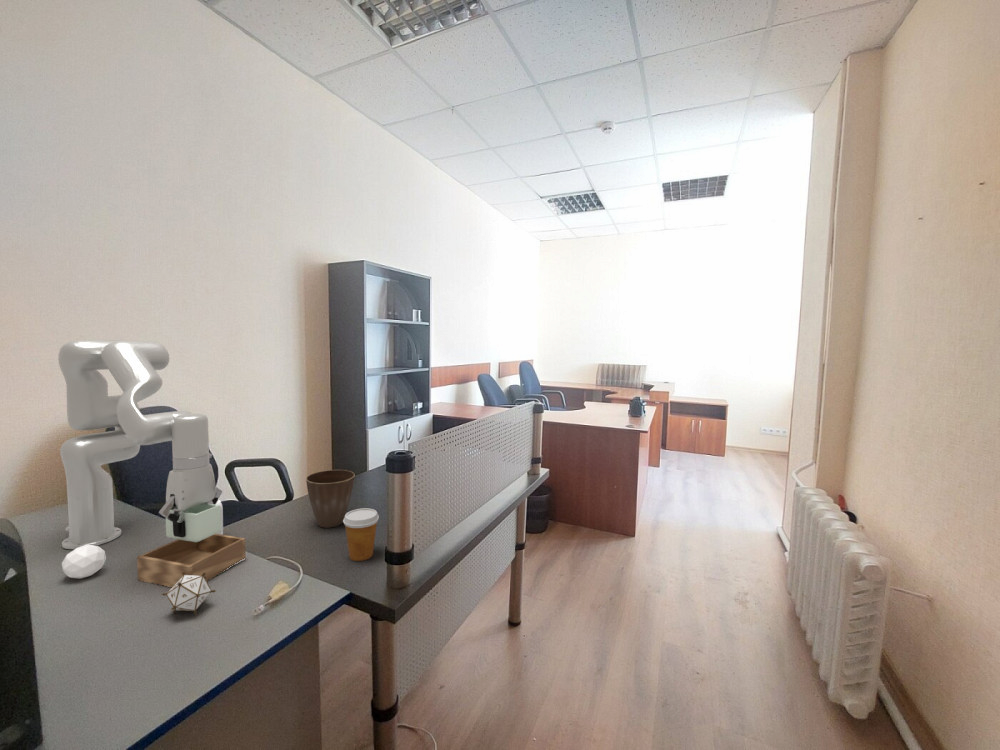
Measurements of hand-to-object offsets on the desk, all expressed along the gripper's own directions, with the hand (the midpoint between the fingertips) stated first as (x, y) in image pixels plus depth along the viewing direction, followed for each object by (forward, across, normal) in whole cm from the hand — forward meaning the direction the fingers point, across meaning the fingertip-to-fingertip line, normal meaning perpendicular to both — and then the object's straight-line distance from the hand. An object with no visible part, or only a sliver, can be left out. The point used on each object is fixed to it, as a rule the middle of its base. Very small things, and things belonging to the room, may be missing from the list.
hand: (193, 529), depth 107 cm
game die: (+11, +13, +15) cm, 23 cm away
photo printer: (+11, -13, -13) cm, 21 cm away
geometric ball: (+11, +10, -23) cm, 28 cm away
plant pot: (+11, -35, +15) cm, 40 cm away
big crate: (+11, 0, 0) cm, 11 cm away
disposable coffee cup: (+11, -19, +37) cm, 43 cm away
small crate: (+1, 0, 0) cm, 1 cm away
